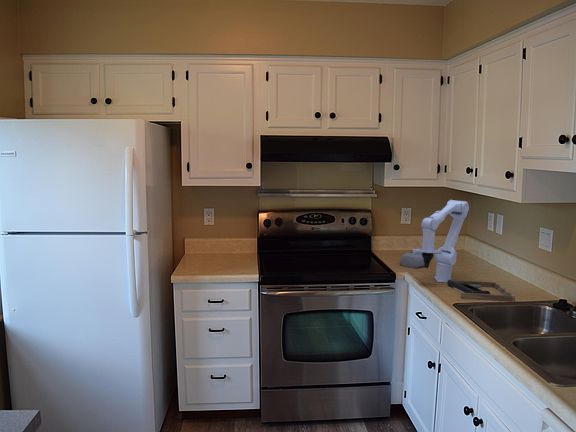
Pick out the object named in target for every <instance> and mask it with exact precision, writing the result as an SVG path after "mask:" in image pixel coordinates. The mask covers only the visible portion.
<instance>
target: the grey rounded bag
mask: <svg viewBox="0 0 576 432" xmlns="http://www.w3.org/2000/svg"><path fill="white" fill-rule="evenodd" d="M400 256H401V257H400V259H399V262H400V264H401V266H403V267H406V268H412V269H417V268H418V269H419V268H423V267H425V265H424V260H423V257H422V254H421V253H413V251H408V252H406V253H404V254H401V255H400Z"/></svg>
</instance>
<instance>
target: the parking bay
mask: <svg viewBox="0 0 576 432" xmlns="http://www.w3.org/2000/svg"><path fill="white" fill-rule="evenodd" d="M451 280H452V281H454V282H456V283H467V284H469V285H481V288H482V287H483V288H495V289H496V290H497V291H498V292H500V293H501V294H491V293H490V294H477V293H462V292H460V298H461V299H465V300H466V299H467V300H484V301H485V300H486V301H500V302H501V301H502V302H516V296H515V295H514V294H513V293H511V292H510V291H509V290H507V289H506V288H505V287H504V286H502V285H501V284H500V283H499V282H495V281H481V280H463V279H451Z"/></svg>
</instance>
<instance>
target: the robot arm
mask: <svg viewBox="0 0 576 432" xmlns="http://www.w3.org/2000/svg"><path fill="white" fill-rule="evenodd" d="M469 205H470V204H469V202H468V201H466V200H453V199H450V200H448V201H447V203H446V205H445V206H444V207H443V208H442V209H440V210H436V211H435V212H434V213H432V215H430V216H428V217H425V218H423V219H422V221H421V223H420V226H421V228H422V229H421V230H422V244H421V245H422V246H421V248H412V252H413V253H421V254H422V257H423V260H424V265H425V266H424V268H426V269H428V268H429V266H430V263H431V261H433V258H434V260H435V262H436V268H435V275H434V276H433V278H434V280H435V281H437V283H447V281H448V280H452V269H453V266H454V265H455V264H456V261H457V257H458V253H457V251H456V249H455V247H456V246H455V245H456V244H457V241H458V238H459V234H460V231H461V229H462V227H463V224H464V221H465V219H466V218H467V216H468V212H469V210H470V206H469ZM448 215H449V216H450V217H452V222H451V225H450V227H449V229H448V233H447V236H446V239H445V241H444V244H443V245H442V246H440V247H438V249H434V248H435V237H436V236H435V235H436V230H438V228H439V225H440V224H441V223H442V222H443V221H445V220H446V217H447V216H448Z"/></svg>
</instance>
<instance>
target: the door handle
mask: <svg viewBox="0 0 576 432" xmlns="http://www.w3.org/2000/svg"><path fill="white" fill-rule="evenodd" d="M452 280H453V279H451V280H448V281H447V282H446V284H447V285H448V286H449V287H452V288H453V290H456V291H458V292H460V293H477V294H491V292H490V291H489V290H482V289H481V288H482V287H481V285H469V284H467V283H456V282H454V281H452Z"/></svg>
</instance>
